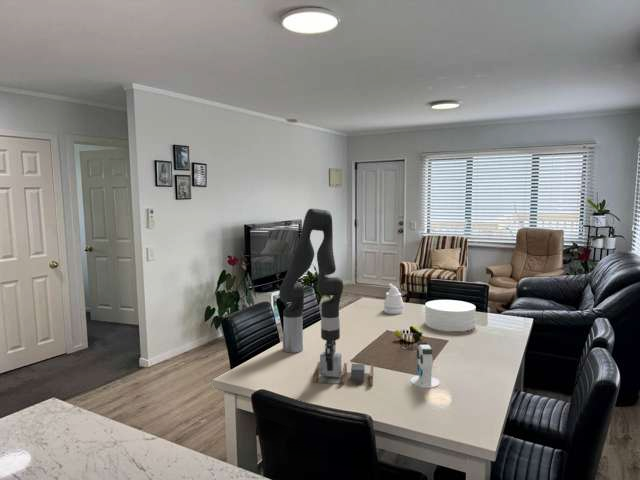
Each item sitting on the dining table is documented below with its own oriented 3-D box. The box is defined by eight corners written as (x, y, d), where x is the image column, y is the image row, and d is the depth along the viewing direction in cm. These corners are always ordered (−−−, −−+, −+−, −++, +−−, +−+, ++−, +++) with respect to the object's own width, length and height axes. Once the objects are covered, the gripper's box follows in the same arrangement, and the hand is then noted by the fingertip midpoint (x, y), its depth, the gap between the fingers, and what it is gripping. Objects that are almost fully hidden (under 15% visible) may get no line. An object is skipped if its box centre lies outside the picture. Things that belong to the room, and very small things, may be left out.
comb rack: (313, 385, 170) (313, 373, 169) (318, 373, 182) (318, 361, 181) (372, 388, 166) (372, 376, 166) (373, 376, 178) (373, 364, 178)
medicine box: (341, 373, 176) (341, 353, 175) (338, 378, 171) (338, 356, 171) (323, 371, 178) (323, 351, 177) (319, 375, 174) (319, 354, 173)
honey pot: (383, 313, 277) (383, 285, 275) (384, 308, 289) (384, 282, 288) (404, 314, 275) (404, 286, 273) (403, 309, 287) (403, 282, 286)
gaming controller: (393, 340, 224) (407, 345, 216) (393, 329, 223) (408, 334, 216) (412, 334, 233) (427, 339, 225) (412, 324, 233) (427, 328, 225)
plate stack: (480, 322, 255) (480, 303, 254) (468, 334, 232) (468, 314, 231) (433, 315, 270) (434, 297, 269) (418, 327, 247) (418, 307, 246)
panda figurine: (407, 375, 178) (408, 340, 177) (435, 375, 178) (436, 340, 177) (413, 388, 166) (413, 350, 165) (442, 388, 166) (443, 350, 165)
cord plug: (351, 381, 171) (351, 369, 170) (352, 372, 180) (352, 360, 179) (363, 382, 170) (363, 370, 169) (364, 372, 179) (364, 361, 179)
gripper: (323, 321, 181) (324, 360, 182) (318, 331, 166) (318, 374, 168) (341, 322, 179) (341, 361, 181) (337, 332, 165) (338, 375, 167)
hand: (330, 367), depth 175 cm, fingers closed on medicine box, 5 cm apart
